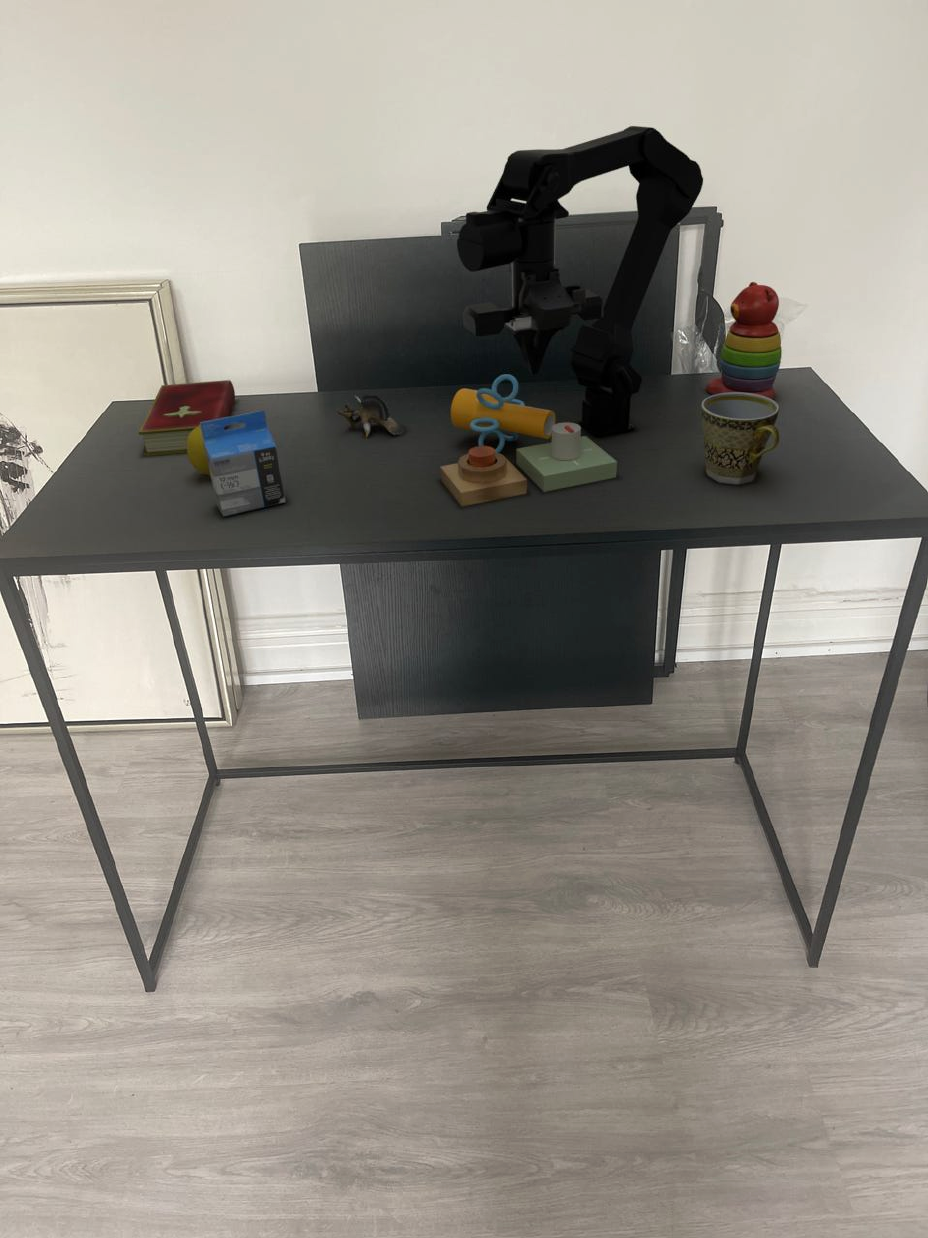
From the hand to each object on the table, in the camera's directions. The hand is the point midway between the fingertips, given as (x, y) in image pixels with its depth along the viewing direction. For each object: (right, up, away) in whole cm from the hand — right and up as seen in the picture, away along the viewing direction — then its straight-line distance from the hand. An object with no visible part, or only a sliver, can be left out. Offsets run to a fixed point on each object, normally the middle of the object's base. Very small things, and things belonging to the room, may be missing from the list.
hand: (533, 373), depth 129 cm
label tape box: (-39, -19, -4) cm, 44 cm away
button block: (-7, -16, -2) cm, 18 cm away
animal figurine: (-24, -5, +16) cm, 30 cm away
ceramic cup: (+28, -16, -3) cm, 32 cm away
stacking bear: (+36, +2, +22) cm, 42 cm away
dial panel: (+5, -14, +1) cm, 14 cm away
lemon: (-47, -14, +5) cm, 49 cm away
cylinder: (-11, -3, +8) cm, 14 cm away
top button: (-7, -13, -4) cm, 16 cm away
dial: (+4, -12, -1) cm, 12 cm away
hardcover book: (-54, -3, +21) cm, 59 cm away
